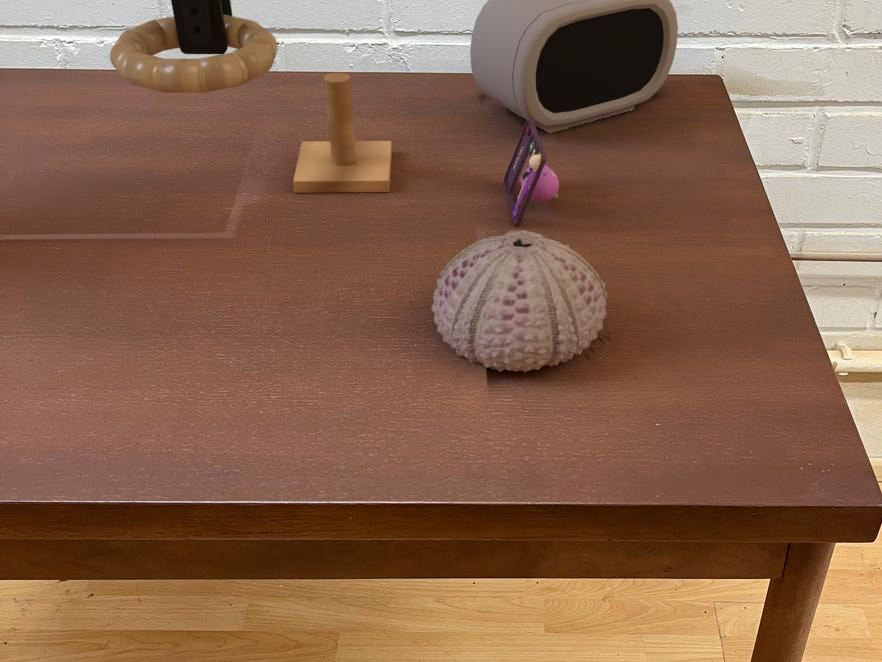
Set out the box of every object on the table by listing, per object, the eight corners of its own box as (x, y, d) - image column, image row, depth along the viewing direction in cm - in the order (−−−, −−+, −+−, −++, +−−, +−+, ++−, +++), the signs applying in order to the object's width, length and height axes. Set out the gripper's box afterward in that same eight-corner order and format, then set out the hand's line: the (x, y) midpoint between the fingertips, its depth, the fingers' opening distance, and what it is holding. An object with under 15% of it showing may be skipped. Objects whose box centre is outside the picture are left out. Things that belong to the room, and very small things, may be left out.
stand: (294, 193, 95) (282, 96, 89) (303, 152, 102) (292, 59, 96) (389, 192, 96) (384, 95, 89) (392, 152, 102) (387, 59, 96)
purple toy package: (520, 113, 93) (535, 155, 86) (572, 130, 94) (589, 172, 88) (495, 179, 97) (507, 223, 90) (544, 194, 99) (559, 238, 92)
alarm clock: (520, 146, 103) (525, 8, 95) (470, 115, 109) (470, -17, 100) (671, 105, 112) (689, -25, 103) (617, 78, 118) (629, -47, 109)
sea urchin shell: (416, 378, 73) (412, 282, 68) (446, 283, 83) (445, 192, 78) (599, 395, 72) (609, 298, 67) (607, 296, 82) (617, 205, 77)
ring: (98, 97, 64) (90, 65, 62) (136, 39, 71) (130, 9, 70) (266, 97, 64) (262, 65, 62) (286, 40, 72) (283, 10, 70)
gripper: (123, -296, 64) (177, 8, 77) (49, -268, 52) (128, 88, 65) (241, -295, 64) (276, 9, 77) (194, -266, 53) (245, 88, 65)
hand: (208, 42), depth 71 cm, fingers closed on ring, 2 cm apart
